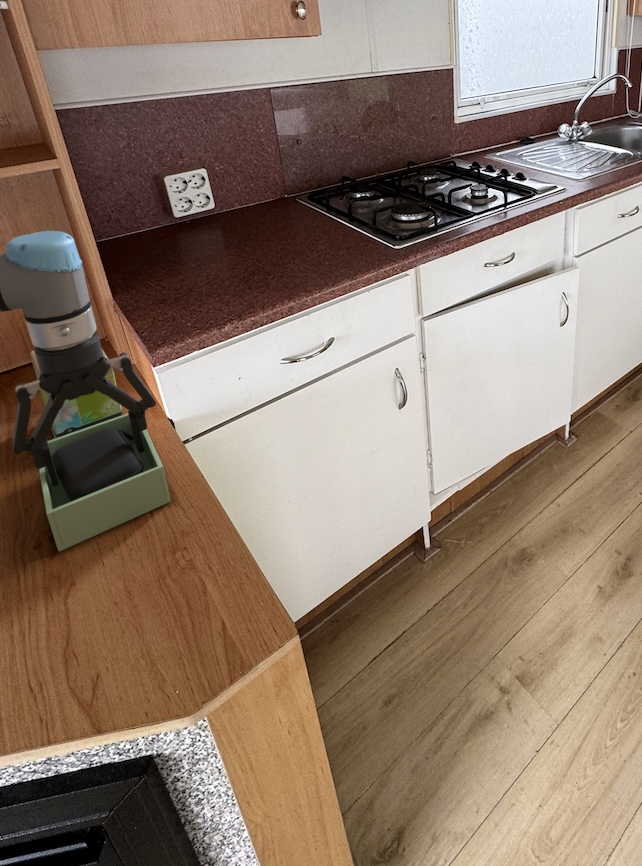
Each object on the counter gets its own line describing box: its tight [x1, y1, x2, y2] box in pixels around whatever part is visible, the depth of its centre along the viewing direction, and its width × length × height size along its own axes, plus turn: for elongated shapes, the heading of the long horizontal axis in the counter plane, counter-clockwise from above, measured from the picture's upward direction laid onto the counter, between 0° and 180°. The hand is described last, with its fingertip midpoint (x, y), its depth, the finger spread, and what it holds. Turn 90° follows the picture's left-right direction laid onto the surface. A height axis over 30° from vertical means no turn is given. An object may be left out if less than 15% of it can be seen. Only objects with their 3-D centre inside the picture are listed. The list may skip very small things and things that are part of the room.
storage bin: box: [38, 413, 171, 553], centre depth 90 cm, size 14×18×7 cm
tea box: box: [29, 349, 124, 439], centre depth 103 cm, size 15×10×15 cm, turn 44°
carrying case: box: [52, 428, 144, 502], centre depth 90 cm, size 11×3×15 cm
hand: (99, 463), depth 90 cm, fingers closed on carrying case, 10 cm apart
